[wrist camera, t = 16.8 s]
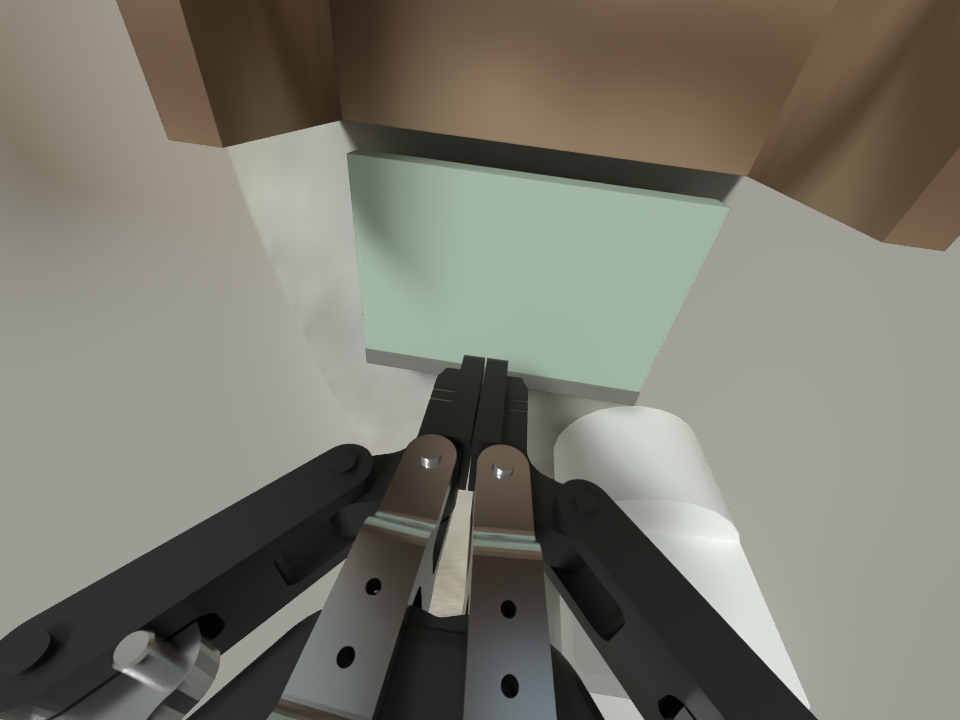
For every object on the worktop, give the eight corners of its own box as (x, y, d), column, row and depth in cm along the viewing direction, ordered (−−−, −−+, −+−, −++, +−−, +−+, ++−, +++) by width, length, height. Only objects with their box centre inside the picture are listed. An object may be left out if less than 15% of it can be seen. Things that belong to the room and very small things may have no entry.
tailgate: (715, 198, 13) (627, 387, 18) (361, 148, 13) (376, 346, 19) (732, 208, 12) (633, 406, 17) (345, 153, 12) (366, 362, 18)
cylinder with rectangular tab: (722, 412, 21) (872, 688, 11) (672, 499, 26) (746, 733, 17) (562, 400, 22) (580, 646, 12) (546, 486, 27) (551, 701, 18)
